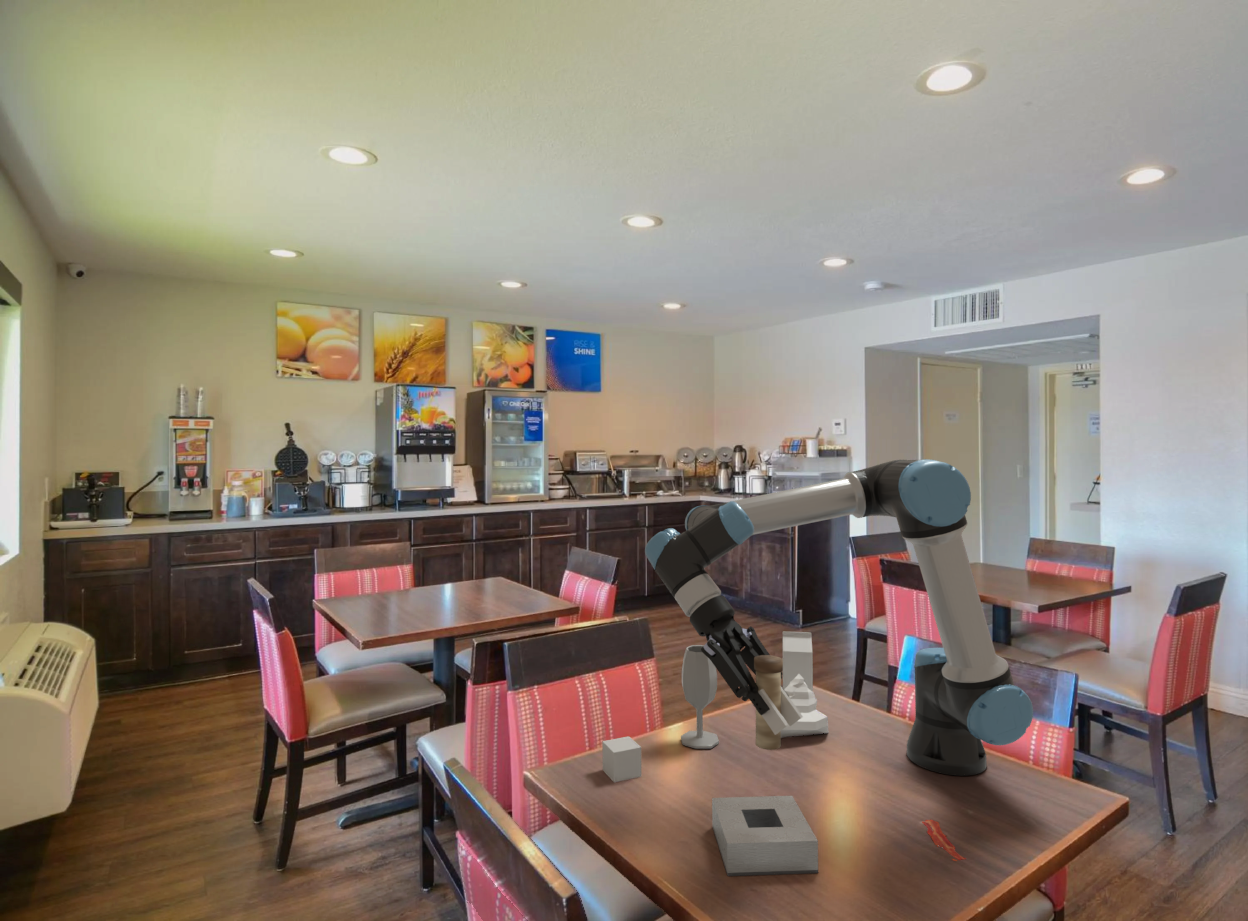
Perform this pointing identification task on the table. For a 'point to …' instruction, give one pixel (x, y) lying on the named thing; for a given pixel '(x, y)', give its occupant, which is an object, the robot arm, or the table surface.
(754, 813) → the block
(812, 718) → the soft serve ice cream
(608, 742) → the grey cube
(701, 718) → the wineglass
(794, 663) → the milk carton
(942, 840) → the bacon strip
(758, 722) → the beige cylinder
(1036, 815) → the table surface
